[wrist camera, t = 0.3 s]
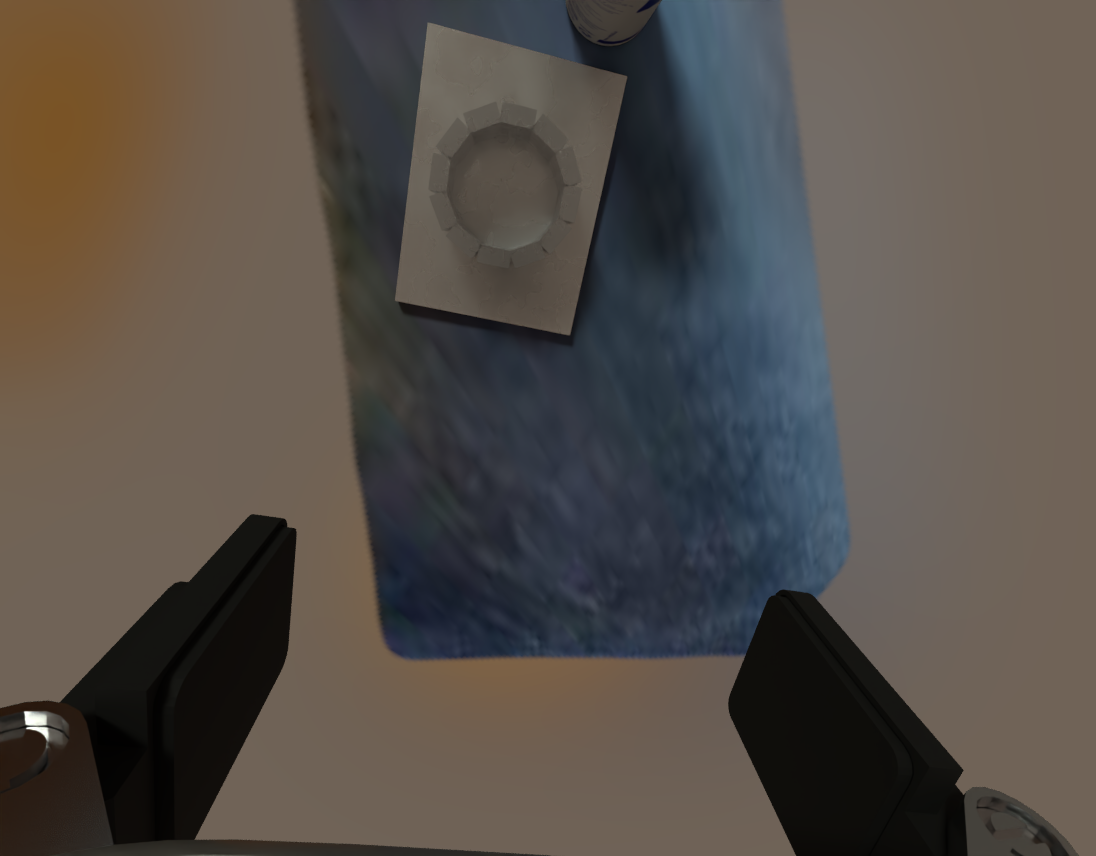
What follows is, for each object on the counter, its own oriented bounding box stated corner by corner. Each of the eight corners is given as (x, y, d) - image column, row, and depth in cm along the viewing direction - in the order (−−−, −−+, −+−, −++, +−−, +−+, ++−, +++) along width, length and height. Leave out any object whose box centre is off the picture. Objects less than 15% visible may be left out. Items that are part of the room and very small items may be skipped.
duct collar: (429, 27, 32) (417, -7, 28) (624, 79, 34) (643, 55, 29) (397, 299, 37) (382, 308, 33) (568, 333, 39) (577, 346, 34)
